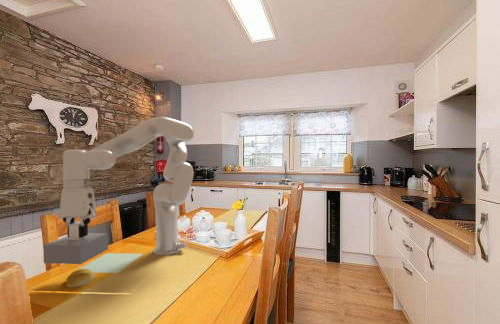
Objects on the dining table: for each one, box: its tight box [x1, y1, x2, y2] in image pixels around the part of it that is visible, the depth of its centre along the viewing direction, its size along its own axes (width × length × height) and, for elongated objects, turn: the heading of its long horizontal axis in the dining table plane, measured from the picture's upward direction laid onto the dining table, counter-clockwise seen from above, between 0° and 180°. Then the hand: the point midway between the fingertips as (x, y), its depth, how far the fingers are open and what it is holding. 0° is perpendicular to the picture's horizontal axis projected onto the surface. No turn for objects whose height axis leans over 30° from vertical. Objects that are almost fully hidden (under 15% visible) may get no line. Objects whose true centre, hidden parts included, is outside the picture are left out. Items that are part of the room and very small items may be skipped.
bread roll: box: [65, 268, 96, 288], centre depth 84 cm, size 8×9×4 cm
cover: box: [42, 221, 109, 265], centre depth 84 cm, size 13×13×12 cm
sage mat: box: [77, 252, 144, 274], centre depth 99 cm, size 18×18×1 cm
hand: (77, 235), depth 84 cm, fingers closed on cover, 3 cm apart
